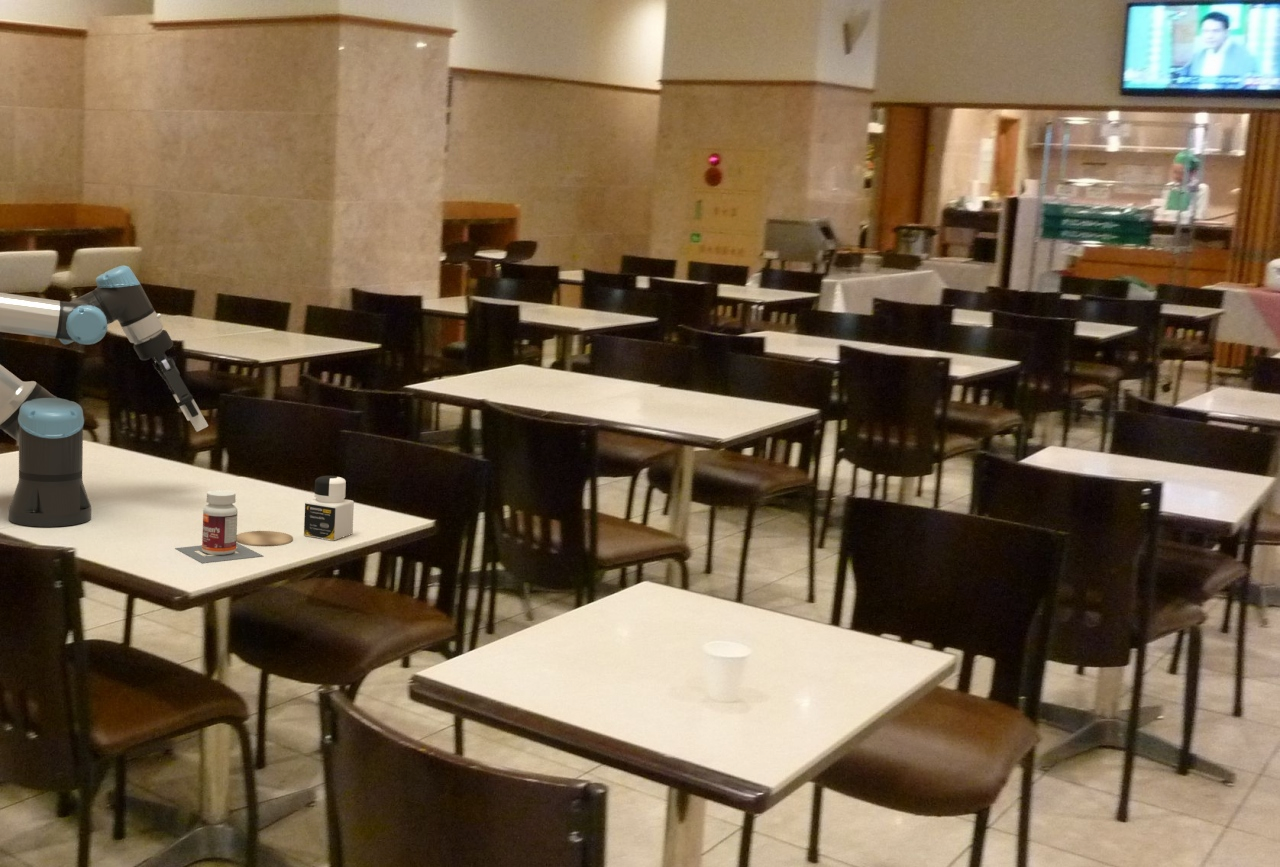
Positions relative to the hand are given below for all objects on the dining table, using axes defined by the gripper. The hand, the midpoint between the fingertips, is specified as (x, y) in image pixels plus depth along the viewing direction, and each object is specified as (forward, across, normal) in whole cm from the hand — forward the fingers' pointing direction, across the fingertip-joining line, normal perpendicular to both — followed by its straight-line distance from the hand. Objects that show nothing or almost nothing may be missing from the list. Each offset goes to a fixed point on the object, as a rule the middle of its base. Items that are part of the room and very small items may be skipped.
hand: (197, 423), depth 297 cm
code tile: (+13, -46, +10) cm, 49 cm away
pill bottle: (+13, -46, +10) cm, 49 cm away
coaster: (+18, -37, +2) cm, 41 cm away
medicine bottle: (+25, -35, -10) cm, 44 cm away
